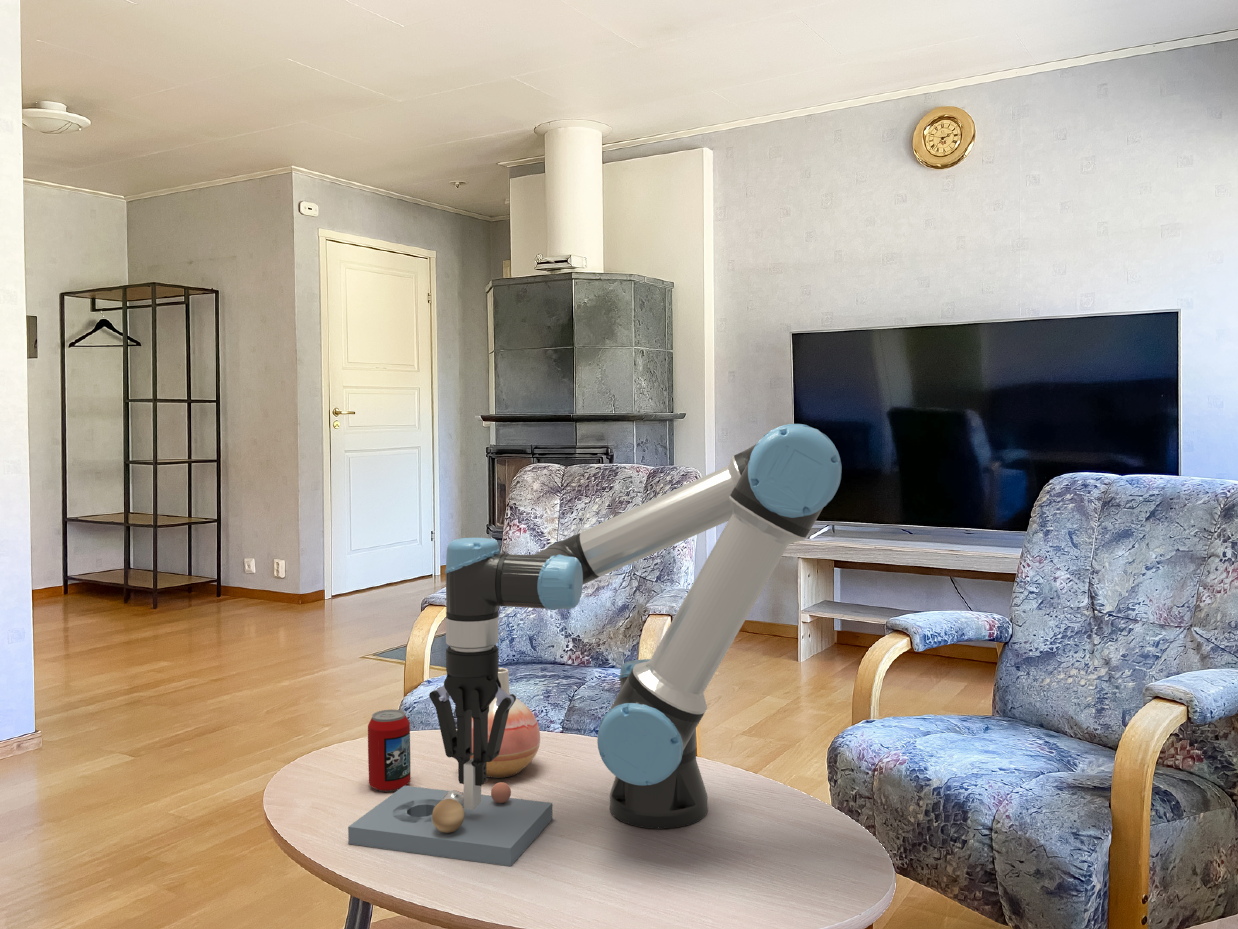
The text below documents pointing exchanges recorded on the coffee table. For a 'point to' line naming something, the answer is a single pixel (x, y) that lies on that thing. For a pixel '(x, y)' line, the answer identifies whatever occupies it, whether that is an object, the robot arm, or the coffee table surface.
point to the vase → (513, 736)
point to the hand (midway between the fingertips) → (472, 805)
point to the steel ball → (455, 796)
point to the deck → (480, 838)
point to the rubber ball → (500, 792)
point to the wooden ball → (448, 815)
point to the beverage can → (389, 750)
